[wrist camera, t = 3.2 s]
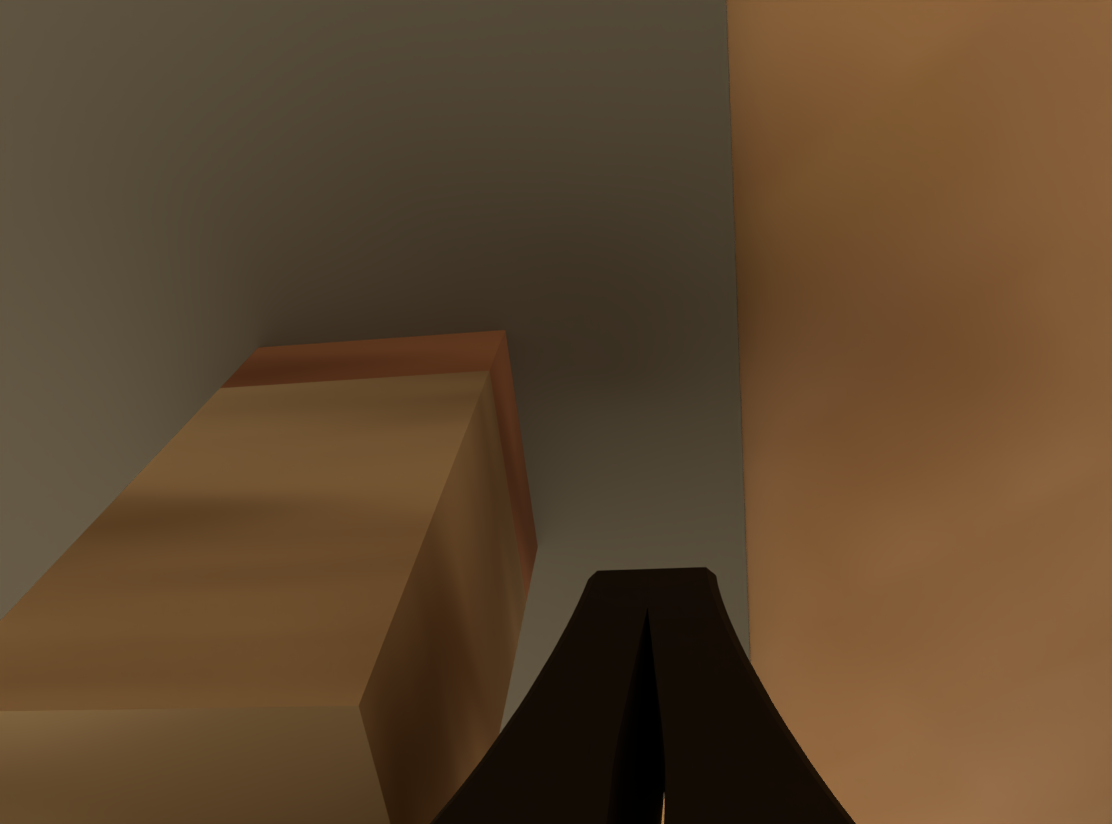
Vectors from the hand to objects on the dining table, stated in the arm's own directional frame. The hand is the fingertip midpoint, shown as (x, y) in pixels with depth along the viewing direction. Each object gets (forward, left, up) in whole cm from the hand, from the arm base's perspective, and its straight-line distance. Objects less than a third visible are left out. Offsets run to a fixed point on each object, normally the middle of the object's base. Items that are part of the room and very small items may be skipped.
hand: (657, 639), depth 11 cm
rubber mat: (0, +9, -5) cm, 10 cm away
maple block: (0, +4, -5) cm, 6 cm away
